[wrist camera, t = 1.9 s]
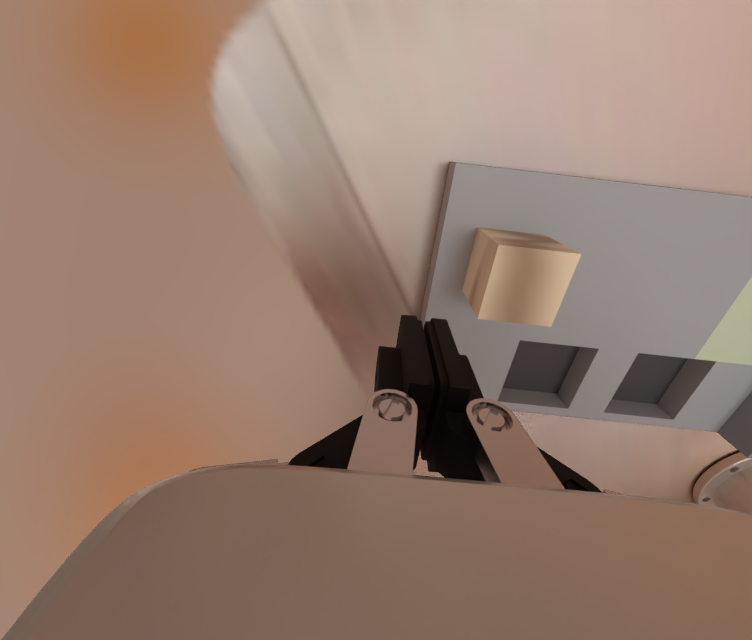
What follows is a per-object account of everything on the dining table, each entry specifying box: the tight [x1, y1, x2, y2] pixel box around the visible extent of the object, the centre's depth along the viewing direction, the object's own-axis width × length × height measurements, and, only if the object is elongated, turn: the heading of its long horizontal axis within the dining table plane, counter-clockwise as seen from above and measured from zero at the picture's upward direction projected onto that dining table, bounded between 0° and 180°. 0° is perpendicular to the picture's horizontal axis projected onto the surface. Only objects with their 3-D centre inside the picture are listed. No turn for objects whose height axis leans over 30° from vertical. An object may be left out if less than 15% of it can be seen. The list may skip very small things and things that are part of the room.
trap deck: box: [420, 162, 752, 458], centre depth 26 cm, size 32×21×6 cm, turn 84°
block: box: [462, 227, 581, 327], centre depth 22 cm, size 5×5×5 cm
